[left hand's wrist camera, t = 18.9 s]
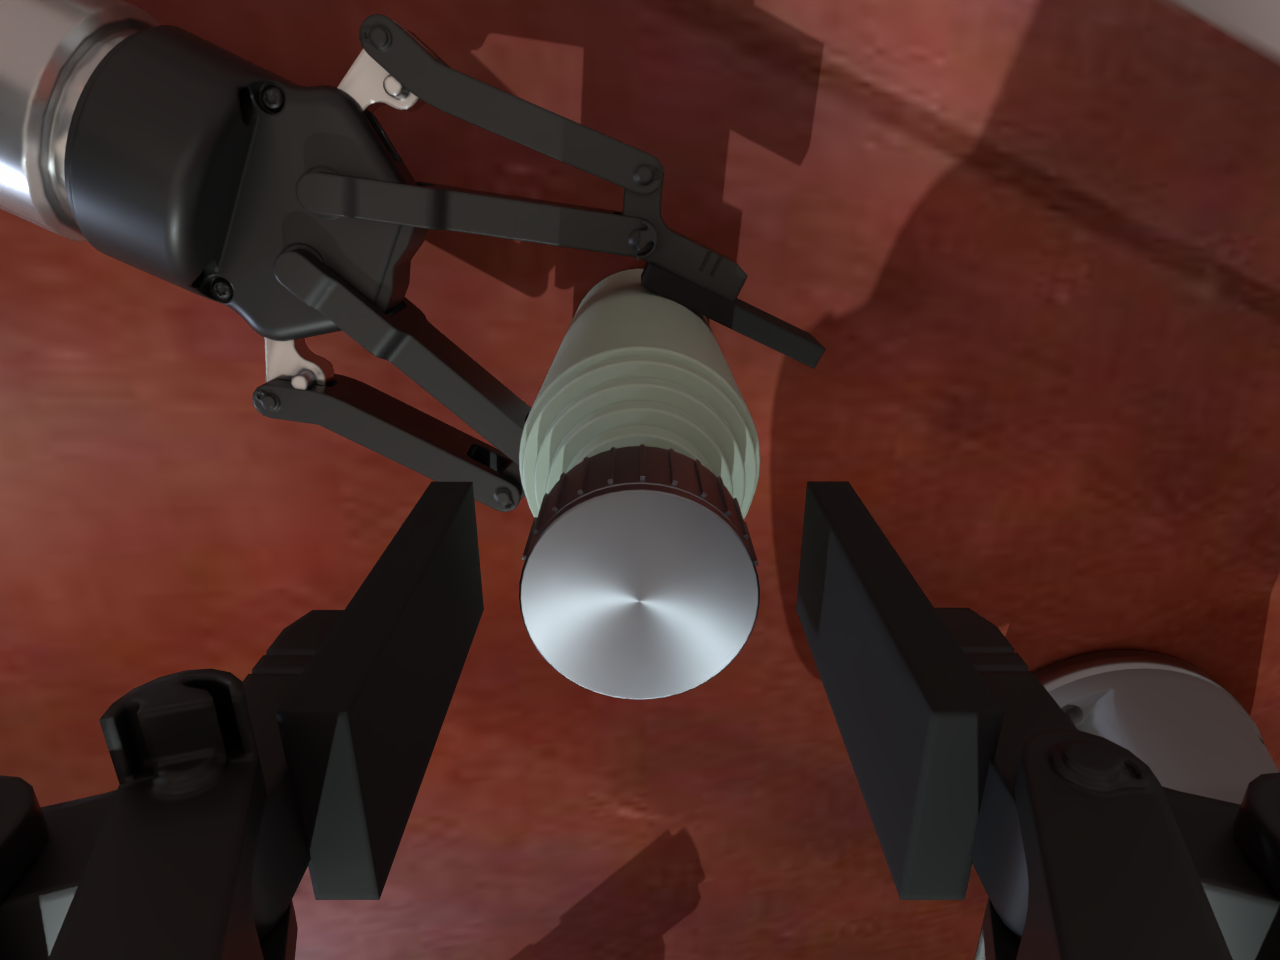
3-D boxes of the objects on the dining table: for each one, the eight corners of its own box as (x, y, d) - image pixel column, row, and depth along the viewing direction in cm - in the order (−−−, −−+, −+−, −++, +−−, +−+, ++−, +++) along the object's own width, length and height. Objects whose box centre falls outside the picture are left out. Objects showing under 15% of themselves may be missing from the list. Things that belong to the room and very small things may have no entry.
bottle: (636, 238, 32) (630, 346, 12) (735, 335, 33) (879, 576, 13) (544, 341, 33) (401, 590, 13) (642, 429, 35) (646, 772, 15)
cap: (723, 646, 16) (735, 716, 14) (523, 619, 15) (504, 686, 13) (766, 459, 14) (787, 507, 12) (545, 426, 14) (529, 469, 12)
